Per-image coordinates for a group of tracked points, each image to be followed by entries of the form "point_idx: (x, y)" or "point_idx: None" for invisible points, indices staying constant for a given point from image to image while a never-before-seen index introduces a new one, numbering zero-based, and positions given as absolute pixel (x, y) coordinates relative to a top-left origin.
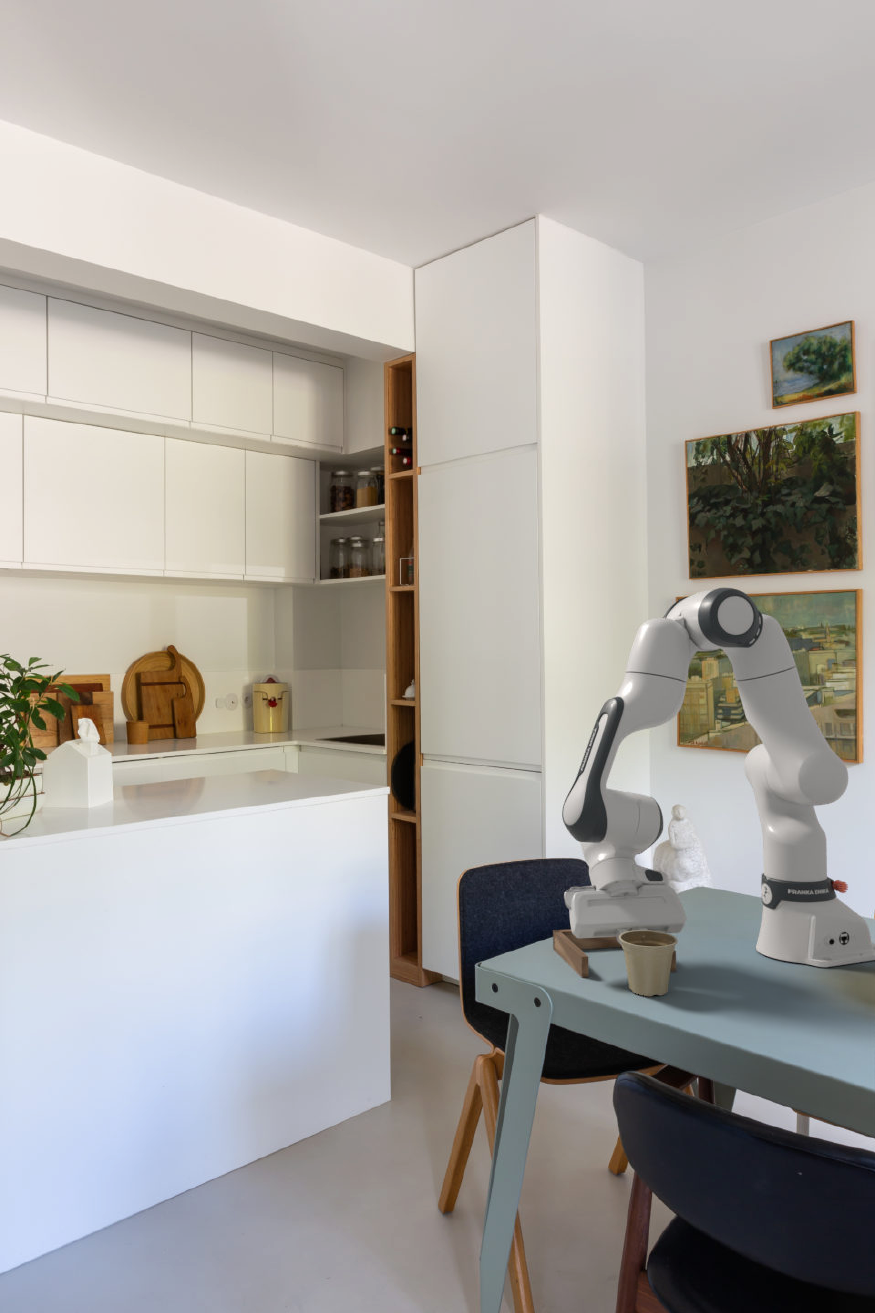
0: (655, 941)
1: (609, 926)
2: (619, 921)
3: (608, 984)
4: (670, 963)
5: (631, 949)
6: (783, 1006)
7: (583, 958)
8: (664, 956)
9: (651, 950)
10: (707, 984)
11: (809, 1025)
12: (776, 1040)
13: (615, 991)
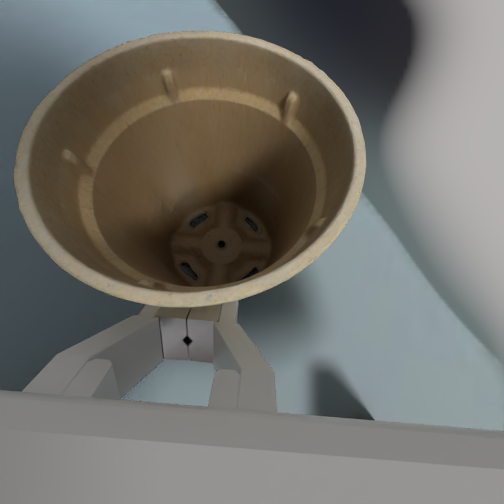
0: (100, 254)
1: (387, 423)
2: (274, 466)
3: (308, 328)
4: (156, 151)
5: (318, 118)
6: (4, 97)
7: None
8: (189, 98)
9: (249, 63)
10: (37, 251)
11: (48, 32)
12: (147, 10)
13: (309, 268)
